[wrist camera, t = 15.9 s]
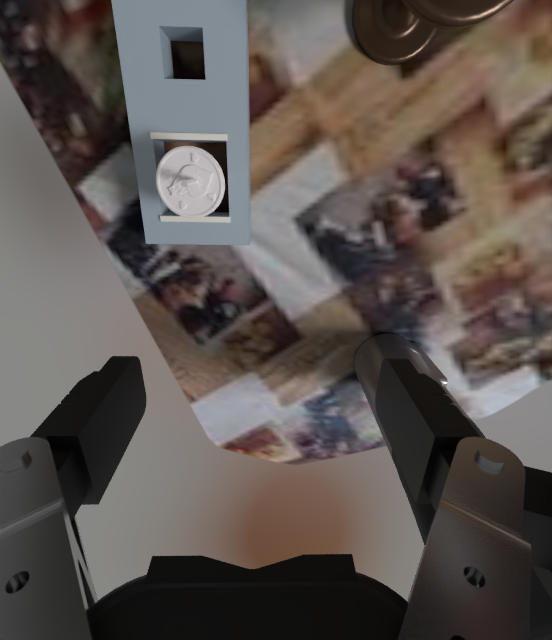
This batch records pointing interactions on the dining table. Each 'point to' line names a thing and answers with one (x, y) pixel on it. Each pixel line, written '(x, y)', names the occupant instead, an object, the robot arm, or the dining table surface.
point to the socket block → (187, 107)
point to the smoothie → (190, 181)
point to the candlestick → (412, 24)
